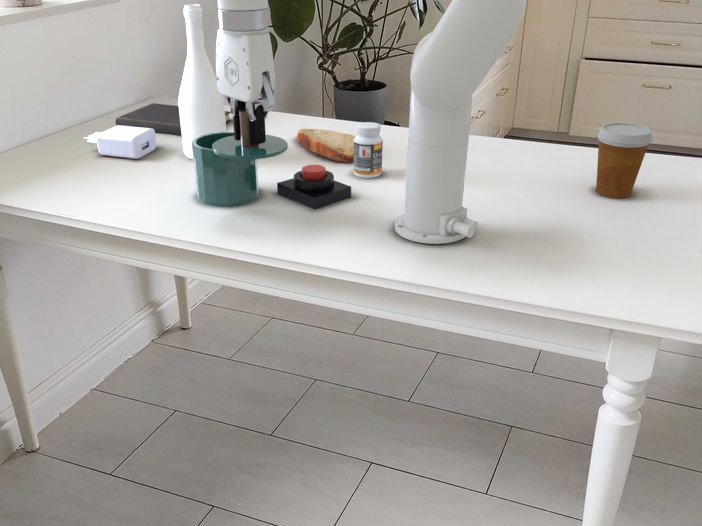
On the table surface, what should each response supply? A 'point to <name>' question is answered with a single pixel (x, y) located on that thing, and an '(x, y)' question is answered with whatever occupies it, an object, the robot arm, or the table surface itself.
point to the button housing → (314, 190)
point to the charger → (124, 141)
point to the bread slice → (328, 144)
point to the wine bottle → (198, 87)
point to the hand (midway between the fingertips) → (250, 140)
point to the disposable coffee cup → (620, 157)
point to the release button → (313, 172)
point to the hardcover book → (156, 118)
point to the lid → (245, 151)
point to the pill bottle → (368, 150)
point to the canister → (223, 174)
